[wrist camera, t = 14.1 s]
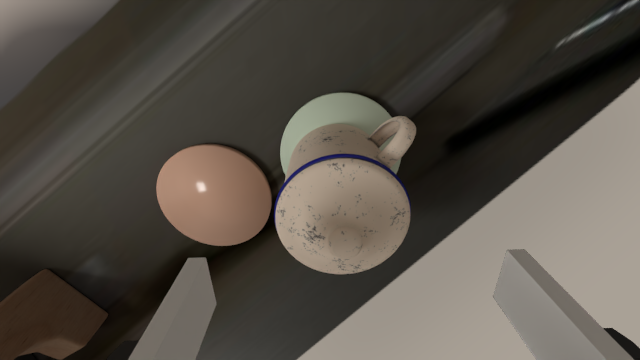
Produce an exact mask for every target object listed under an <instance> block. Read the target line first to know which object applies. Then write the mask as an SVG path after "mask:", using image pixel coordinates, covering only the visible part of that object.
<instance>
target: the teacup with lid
mask: <svg viewBox="0 0 640 360" xmlns="http://www.w3.org/2000/svg"><path fill="white" fill-rule="evenodd" d="M394 134H396V135H395V136H394V138H393V139H392V140H391V141H390V143H389V144H388V145H387V146H386V147H385V148H384V149H383V150H382V151H381V150H380V147H381V146H382V145H383V144H384V143H385V142H386V141H387V140H388V139H389V138H390V137H391V136H393V135H394ZM415 135H416V127H415V125H414V123H413V122H412V121H411V120H409V119H408V118H407V117H405V116H396V117H393V118H391V119H389V120H387V121H385V122H384V123H383V124H381V125H380V126H379V127H378V128H377V129H376V130H375V131H374V132H373V133H372V134H371V135H369V134H367V133H366V132H364V131H363V130H361V129H359V128H357V127H354V126H351V125H346V124H329V125H325V126H321V127H318V128H316V129H314V130H312V131H311V132H309V133H308V134H306V135H305V136H304V137H303V138H302V139H301V140H300V141H299V143H298V144H297V145H296V147H295V149H294V150H293V153H292V155H291V158H290V162H289V166H288V170H287V174H286V178H285V182H284V184H283V186H282V187H281V189H280V191H279V193H278V196H277V199H276V202H275V208H274V220H275V226H276V230H277V232H278V235H279V238H280V240H281V242H282V243H283V245H284V246H285V248H286V249H287V250H288V252H289V253H290V254H291V255H292V256H293V257H294V258H296V259H297V260H298V261H300V262H301V263H302V264H304V265H306V266H308V267H310V268H312V269H315V270H317V271H321V272H325V273H330V274H352V273H357V272H362V271H365V270H368V269H371V268H373V267H375V266H377V265H379V264H380V263H382V262H384V261H385V260H386V259H388V258H389V257H390V256H391V255H392V254H393V253H394V252H395V251H396V250H397V249H398V247H399V246H400V245H401V243H402V242H403V240H404V238H405V236H406V234H407V231H408V228H409V224H410V217H411V205H410V199H409V196H408V193H407V190H406V188H405V186H404V185H403V183H402V182H401V180H400V179H399V177H398V176H397V175H396V174H395V173H394V172H393V171H392V170H391V167H392V166H393V165H394V164H395V163H396V162H397V161H398V160H399V159H400V158H401V157H402V156H403V155H404V154H405V153H406V151H407V150H408V149H409V147H410V146H411V144H412V142H413V140H414V138H415Z"/></svg>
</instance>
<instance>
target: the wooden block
mask: <svg viewBox="0 0 640 360" xmlns="http://www.w3.org/2000/svg"><path fill="white" fill-rule="evenodd" d="M107 317H108V313H107V312H106V311H104V310H103V309H102V308H100V307H99V306H98V305H96V304H95V303H93V302H92V301H91V300H89V299H88V298H87V297H85V296H84V295H83V294H81V293H80V292H79V291H77V290H76V289H74V288H73V287H72V286H70V285H69V284H68V283H66V282H65V281H64V280H62V279H61V278H59V277H58V276H57V275H55V274H54V273H53V272H51V271H50V270H48V269H44V270H41V271H40V272H39V273H37V274H36V275H34V276H33V277H32V278H30V279H29V280H27V281H26V282H25V283H23V284H22V285H21V286H20V287H18V288H17V289H16V290H15V291H13V292H12V293H11V294H10V295H9V296H7V297H6V298H5V299H4V300H2V301H1V302H0V360H14V359H15V358H16V357H18V356H21V355H25V354H30V353H34V352H39V353H41V354H44V355H47V356H50V357H52V358H55V359H58V360H62V359H64V358H65V357H67V356H69V355H71V354H72V353H74V352H76V351H78V350H79V349H81V348H83V347H84V346H86V344H87V343H88V342H89V340H90V339H91V338H92V336H93V335H94V334H95V333H96V331H97V330H98V329H99V327H100V326H101V325H102V323H103V322H104V321H105V320H106V318H107Z"/></svg>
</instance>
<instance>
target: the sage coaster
mask: <svg viewBox="0 0 640 360" xmlns="http://www.w3.org/2000/svg"><path fill="white" fill-rule="evenodd" d="M391 118H392V117H391V116H390V115H389V114H388V112H387V111H386V110H385V109H384V108H383V107H382V106H381V105H379V104H378V103H377V102H375V101H374V100H372V99H370V98H368V97H366V96H363V95H360V94H356V93H351V92H333V93H328V94H324V95H321V96H319V97H316V98H314V99H312V100H310V101H309V102H307V103H306V104H305V105H303V106H302V107H301V108H300V109H299V110H298V111H297V112H296V113H295V114H294V115H293V117H292V118H291V119H290V121H289V123H288V124H287V127H286V129H285V131H284V134H283V137H282V141H281V148H280V158H281V164H282V168H283V171H284V173H285V175H286V174H287V170H288V166H289V162H290V158H291V155H292V153H293V150H294V149H295V147H296V145H297V144H298V143H299V141H300V140H301V139H302V138H303V137H304V136H305V135H306V134H308V133H309V132H311V131H312V130H314V129H316V128H318V127H321V126H325V125H329V124H346V125H351V126H354V127H357V128H359V129H361V130H363V131H364V132H366V133H367V134H369V135H371V134H372V133H373V132H374V131H375V130H376V129H377V128H378V127H379V126H380V125H381V124H383V123H384V122H385V121H387V120H389V119H391ZM395 135H396V134H394V135H393V136H391V137H390V138H389V139H388V140H387V141H386V142H385V143H384V144H383V145H382V146H381V147H380V150H381V151H382V150H383V149H384V148H385V147H386V146H387V145H388V144H389V143H390V141H391V140H392V139H393V138H394V136H395ZM400 162H401V158H400V159H399V160H398V161H397V162H396V163H395V164H394V165H393V166H392V167H391V170H392V171H393V172H394V173H395V174H396V173H397V171H398V169H399V165H400Z"/></svg>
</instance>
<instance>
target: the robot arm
mask: <svg viewBox="0 0 640 360" xmlns="http://www.w3.org/2000/svg"><path fill="white" fill-rule="evenodd" d="M493 298H494V299H495V300H496V302H497V303H498V305H499V306H500V308H501V309H502V311H503V312H504V313H505V315H506V316H507V318H508V319H509V321H510V322H511V324H512V325H513V327H514V328H515V329H516V331H517V332H518V334H519V335H520V337H521V338H522V340H523V341H524V342H525V344H526V345H527V347H528V348H529V350H530V351H531V353H532V354H533V356H534V357H535V359H536V360H640V348H639V347H637V346H636V345H635V344H634V343H633V342H632V341H631V340H629V339H628V338H626V337H625V336H623V335H622V334H620V333H619V332H617V331H616V330H614V329H613V328H602V327H601V326H600V325H599V324H598V323H597V322H596V321H595V320H594V319H593V318H592V317H591V316H590V315H589V314H588V313H587V312H586V311H585V310H584V309H583V308H582V307H581V306H580V305H579V304H578V303H577V302H576V301H575V300H574V299H573V298H572V297H571V296H570V295H569V294H568V293H567V292H566V291H565V290H564V289H563V288H562V287H561V286H560V285H559V284H558V283H557V282H556V281H555V280H554V279H553V278H552V277H551V276H550V275H549V274H548V273H547V272H546V271H545V270H544V269H543V268H542V267H541V266H540V265H539V264H538V262H537V261H536V260H535V259H534V258H533V257H532V256H531V255H530V254H528V252H527V251H525V250H524V249H523V250H507V251H506V255H505V258H504V261H503V265H502V268H501V272H500V276H499V278H498V282H497V285H496V289H495V292H494V295H493ZM216 304H217V303H216V299H215V295H214V290H213V286H212V282H211V278H210V273H209V269H208V265H207V260H206V258H188V259H187V261H186V263H185V264H184V266H183V268H182V270H181V271H180V273H179V275H178V276H177V278H176V280H175V281H174V283H173V285H172V286H171V288H170V290H169V291H168V293H167V295H166V296H165V298H164V300H163V302H162V303H161V305H160V307H159V308H158V310H157V312H156V313H155V315H154V317H153V318H152V320H151V322H150V323H149V325H148V327H147V328H146V330H145V332H144V334H143V335H142V337H141V339H140V340H139V341H124V342H123V343H122V344H121V345H120V346H119V347H118V348H117V349H116V350H114V351H113V352H112V353H111V354H110V355H109V357H108V358H107V360H195V359H196V356H197V354H198V351H199V349H200V346H201V343H202V341H203V338H204V335H205V333H206V330H207V328H208V325H209V322H210V320H211V317H212V315H213V312H214V309H215V307H216ZM14 360H36V359H35V357H34V356H33V355H32V354H31V353H30V354H25V355H21V356H18V357H16V358H15V359H14Z"/></svg>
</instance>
